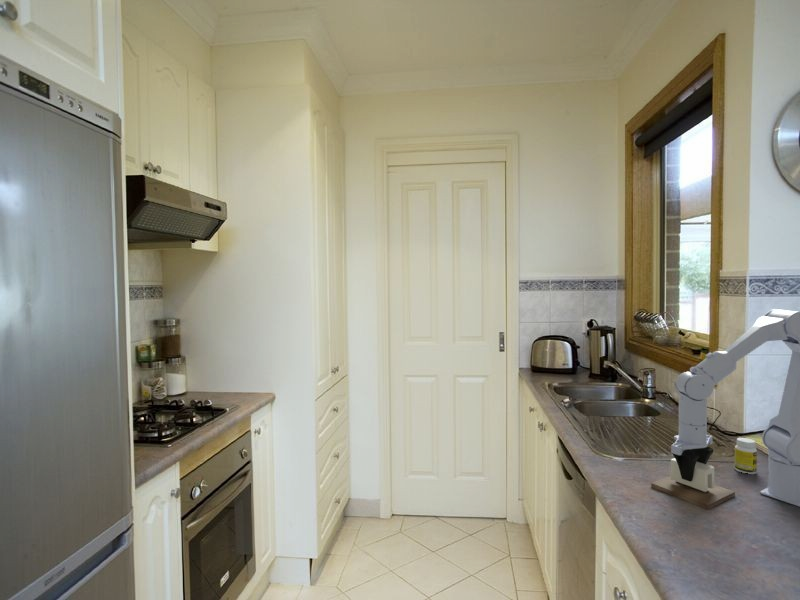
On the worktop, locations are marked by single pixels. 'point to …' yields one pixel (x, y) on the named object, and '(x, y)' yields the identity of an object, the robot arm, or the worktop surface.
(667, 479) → the pin board
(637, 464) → the worktop surface
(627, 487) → the worktop surface
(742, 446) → the supplement bottle
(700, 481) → the block
